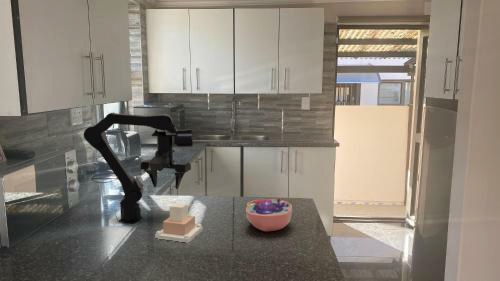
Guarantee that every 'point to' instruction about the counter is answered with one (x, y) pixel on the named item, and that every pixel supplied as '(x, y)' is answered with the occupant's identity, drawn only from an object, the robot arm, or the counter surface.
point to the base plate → (180, 238)
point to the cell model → (269, 214)
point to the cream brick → (178, 212)
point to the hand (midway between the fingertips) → (166, 187)
